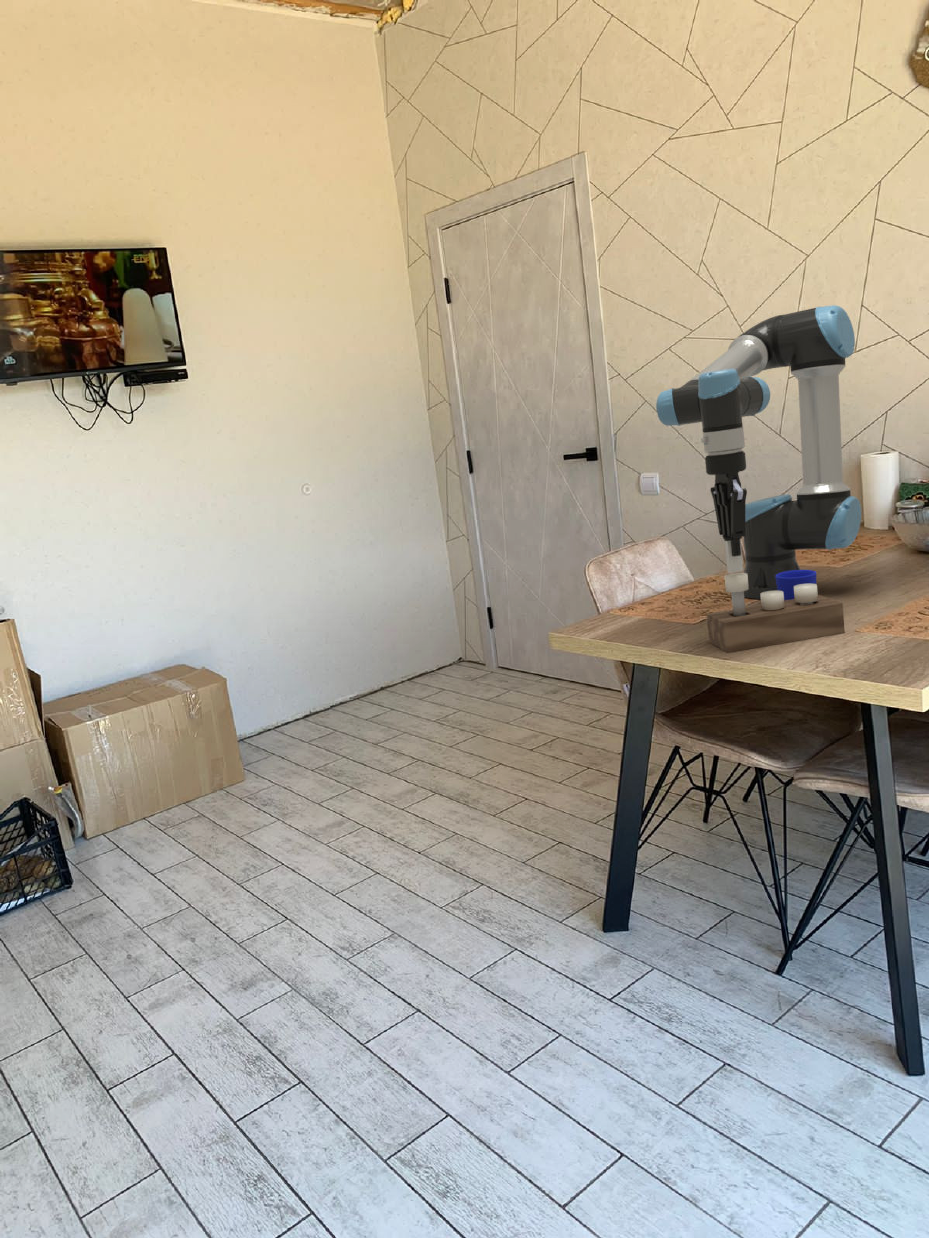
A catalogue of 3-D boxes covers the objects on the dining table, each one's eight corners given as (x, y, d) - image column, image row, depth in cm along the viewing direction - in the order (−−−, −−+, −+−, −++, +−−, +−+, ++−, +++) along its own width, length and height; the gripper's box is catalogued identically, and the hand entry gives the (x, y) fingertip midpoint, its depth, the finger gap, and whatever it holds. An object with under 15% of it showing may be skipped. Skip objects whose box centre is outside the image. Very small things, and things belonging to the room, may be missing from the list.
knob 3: (793, 627, 191) (789, 586, 189) (813, 623, 191) (810, 582, 190) (802, 631, 187) (799, 589, 185) (824, 627, 187) (820, 585, 185)
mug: (819, 609, 206) (815, 564, 204) (820, 622, 195) (816, 575, 193) (779, 612, 209) (776, 568, 207) (778, 625, 198) (774, 579, 196)
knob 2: (760, 634, 191) (756, 593, 189) (781, 630, 191) (777, 589, 189) (769, 638, 186) (765, 596, 185) (790, 634, 187) (787, 592, 185)
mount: (709, 641, 193) (706, 613, 192) (820, 622, 194) (818, 594, 193) (727, 652, 183) (724, 623, 182) (844, 632, 185) (842, 603, 183)
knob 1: (725, 616, 189) (721, 575, 187) (746, 613, 189) (742, 571, 188) (733, 620, 185) (729, 578, 183) (754, 617, 185) (750, 574, 183)
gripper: (694, 454, 187) (705, 570, 191) (718, 455, 174) (729, 579, 179) (730, 449, 187) (741, 564, 192) (756, 449, 174) (767, 573, 179)
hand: (735, 571), depth 185 cm, fingers closed
